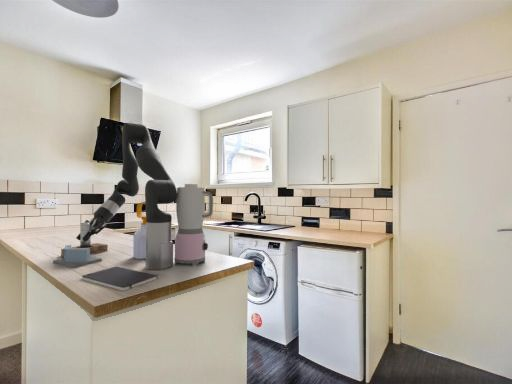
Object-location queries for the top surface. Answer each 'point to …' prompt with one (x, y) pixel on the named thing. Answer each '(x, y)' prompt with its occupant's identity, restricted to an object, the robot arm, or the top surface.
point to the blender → (191, 224)
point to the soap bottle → (140, 236)
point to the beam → (93, 248)
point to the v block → (76, 257)
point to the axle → (83, 231)
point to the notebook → (119, 278)
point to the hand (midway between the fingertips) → (81, 239)
